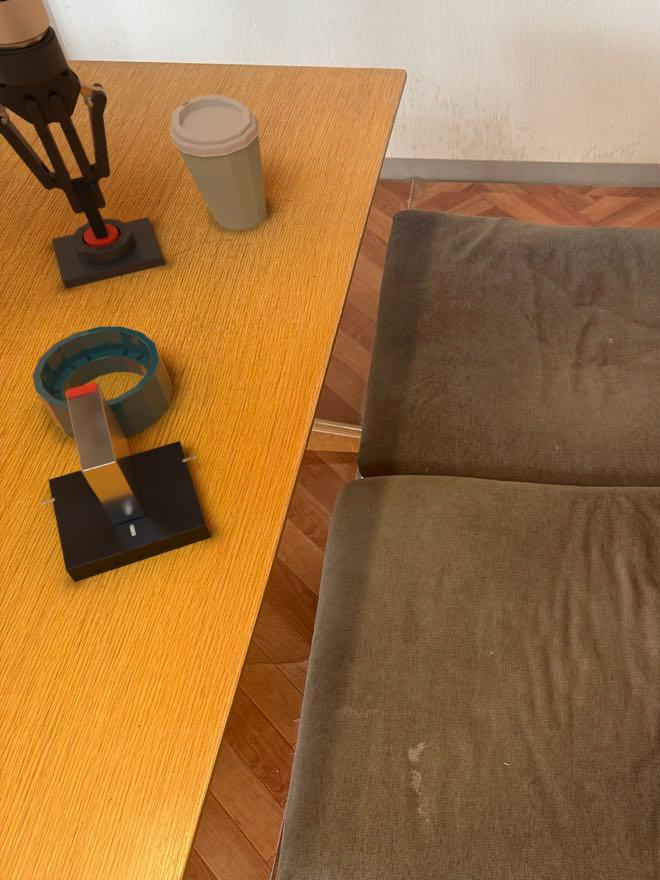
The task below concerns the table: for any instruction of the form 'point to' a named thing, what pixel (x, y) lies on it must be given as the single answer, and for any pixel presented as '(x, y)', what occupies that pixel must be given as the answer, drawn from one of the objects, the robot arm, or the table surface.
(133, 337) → the teal ring
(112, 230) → the button
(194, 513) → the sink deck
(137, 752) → the table surface
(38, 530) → the table surface
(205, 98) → the disposable coffee cup
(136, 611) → the table surface
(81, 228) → the button box
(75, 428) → the reflective bent rectangular block
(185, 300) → the table surface
